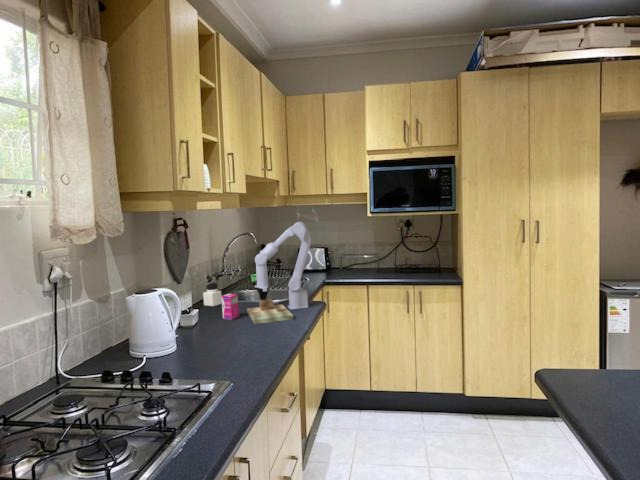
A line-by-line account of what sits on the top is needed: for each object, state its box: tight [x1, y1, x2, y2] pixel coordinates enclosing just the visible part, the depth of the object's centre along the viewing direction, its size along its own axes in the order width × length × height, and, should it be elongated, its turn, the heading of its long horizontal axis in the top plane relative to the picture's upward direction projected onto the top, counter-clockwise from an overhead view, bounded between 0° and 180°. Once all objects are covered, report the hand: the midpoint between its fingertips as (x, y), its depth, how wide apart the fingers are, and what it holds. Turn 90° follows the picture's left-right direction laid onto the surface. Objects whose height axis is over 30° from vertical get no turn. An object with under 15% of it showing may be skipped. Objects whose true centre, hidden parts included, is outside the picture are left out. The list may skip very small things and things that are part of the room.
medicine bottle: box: [202, 282, 223, 307], centre depth 254 cm, size 7×7×12 cm
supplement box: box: [221, 293, 240, 321], centre depth 221 cm, size 6×6×12 cm
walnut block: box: [258, 298, 275, 311], centre depth 230 cm, size 6×6×4 cm
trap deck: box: [246, 304, 294, 325], centre depth 223 cm, size 18×24×2 cm
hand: (263, 302), depth 237 cm, fingers closed
